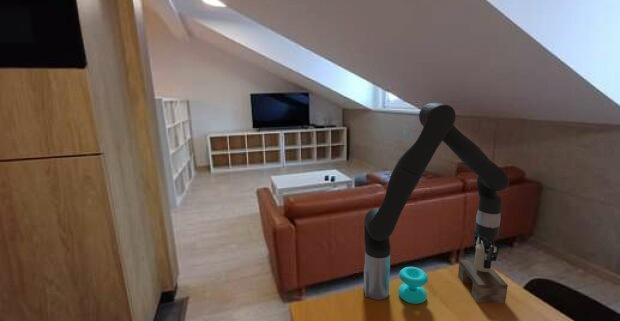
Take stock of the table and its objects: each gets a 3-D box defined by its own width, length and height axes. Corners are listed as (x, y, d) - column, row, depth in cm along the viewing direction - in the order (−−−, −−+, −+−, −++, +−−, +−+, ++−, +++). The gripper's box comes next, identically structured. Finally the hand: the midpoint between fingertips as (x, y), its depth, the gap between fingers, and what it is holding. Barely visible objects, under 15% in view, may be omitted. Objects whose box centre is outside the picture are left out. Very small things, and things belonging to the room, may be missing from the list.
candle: (486, 264, 117) (489, 240, 115) (493, 272, 112) (496, 248, 109) (471, 263, 117) (474, 240, 115) (477, 272, 112) (480, 247, 110)
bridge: (476, 302, 109) (478, 284, 107) (458, 276, 125) (459, 259, 123) (505, 303, 109) (507, 285, 107) (483, 276, 124) (484, 260, 122)
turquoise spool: (395, 266, 115) (419, 263, 117) (394, 289, 118) (418, 286, 119) (407, 282, 106) (433, 279, 107) (405, 307, 108) (431, 303, 109)
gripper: (468, 214, 117) (464, 253, 121) (487, 231, 103) (481, 274, 107) (488, 214, 117) (483, 253, 121) (509, 231, 103) (503, 275, 107)
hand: (482, 263), depth 114 cm, fingers closed on candle, 5 cm apart
